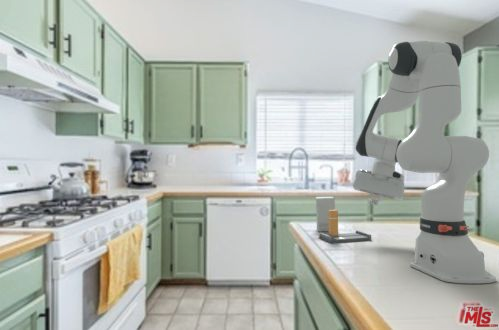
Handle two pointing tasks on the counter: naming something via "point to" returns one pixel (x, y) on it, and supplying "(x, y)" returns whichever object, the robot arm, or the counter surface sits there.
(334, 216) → the tan tall block
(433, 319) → the counter surface
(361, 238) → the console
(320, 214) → the skincare box
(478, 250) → the robot arm
